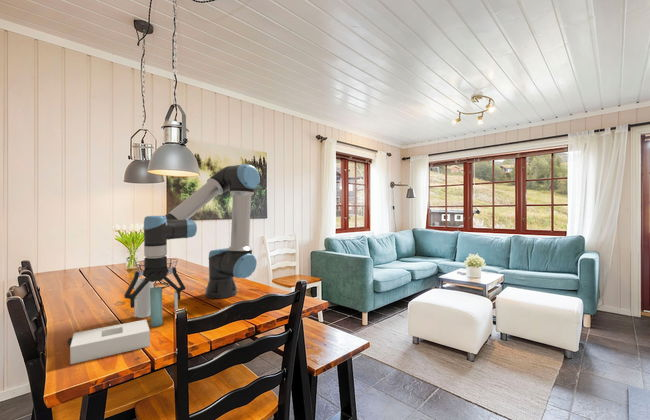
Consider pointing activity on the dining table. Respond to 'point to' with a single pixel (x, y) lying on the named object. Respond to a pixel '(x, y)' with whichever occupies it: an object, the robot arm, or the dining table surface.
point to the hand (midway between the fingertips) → (156, 312)
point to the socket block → (109, 341)
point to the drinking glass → (143, 299)
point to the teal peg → (156, 306)
